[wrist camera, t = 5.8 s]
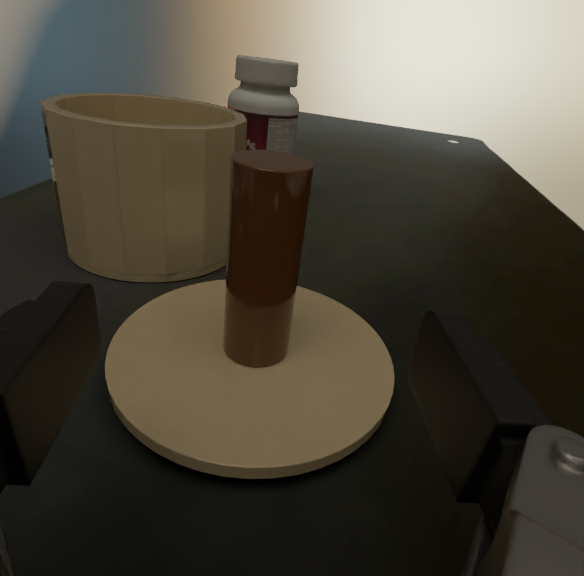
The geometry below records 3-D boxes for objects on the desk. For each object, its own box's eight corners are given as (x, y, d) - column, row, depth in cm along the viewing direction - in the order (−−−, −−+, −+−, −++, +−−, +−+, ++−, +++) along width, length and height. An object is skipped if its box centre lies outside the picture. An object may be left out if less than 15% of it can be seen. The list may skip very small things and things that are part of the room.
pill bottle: (211, 188, 40) (213, 52, 34) (258, 179, 44) (267, 57, 39) (255, 208, 37) (266, 61, 31) (302, 197, 41) (319, 65, 35)
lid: (162, 562, 12) (141, 263, 7) (81, 326, 20) (48, 120, 15) (447, 414, 18) (535, 204, 13) (294, 281, 26) (315, 125, 22)
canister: (83, 298, 22) (57, 126, 18) (54, 221, 30) (31, 88, 25) (267, 265, 28) (280, 129, 23) (202, 207, 35) (203, 97, 31)
